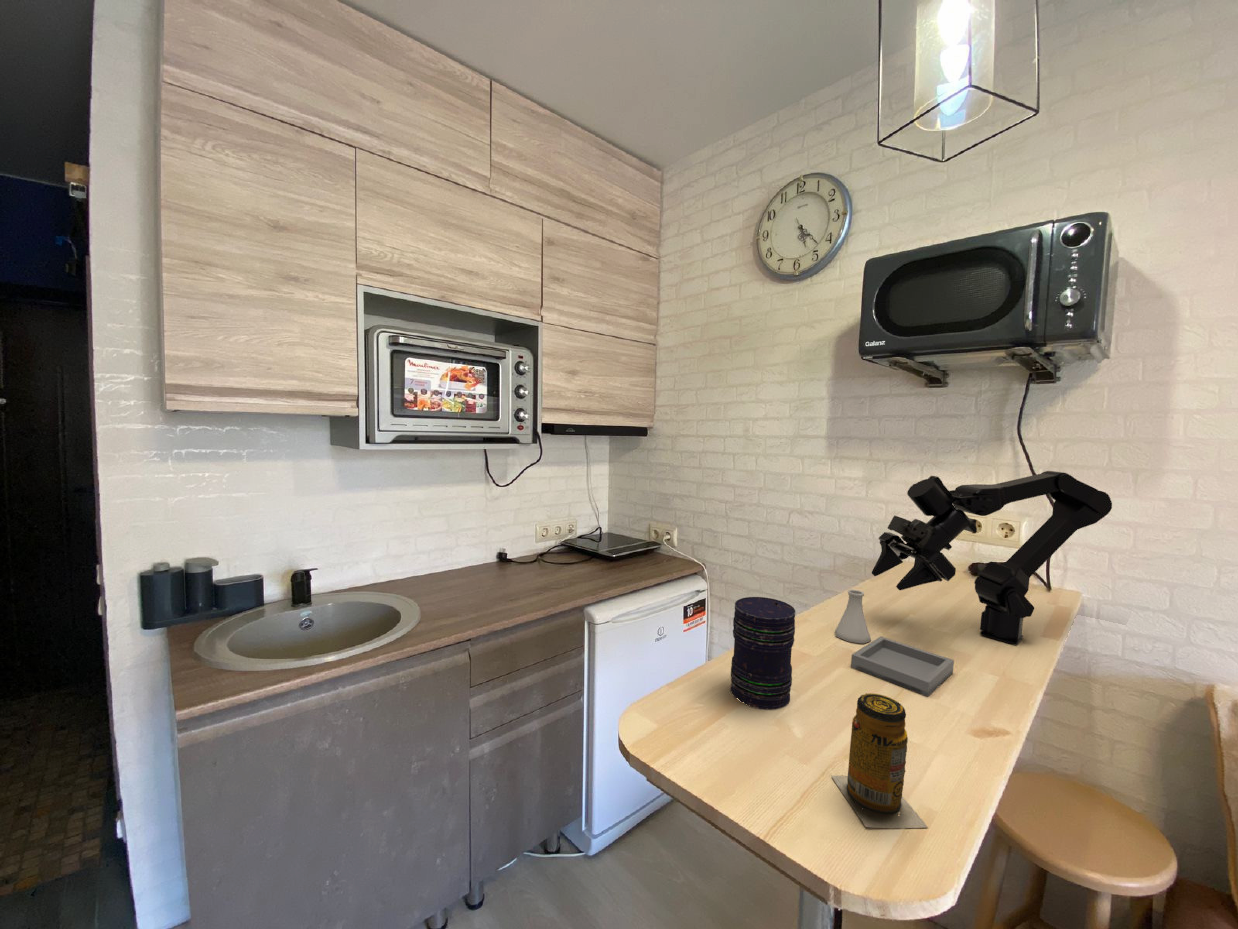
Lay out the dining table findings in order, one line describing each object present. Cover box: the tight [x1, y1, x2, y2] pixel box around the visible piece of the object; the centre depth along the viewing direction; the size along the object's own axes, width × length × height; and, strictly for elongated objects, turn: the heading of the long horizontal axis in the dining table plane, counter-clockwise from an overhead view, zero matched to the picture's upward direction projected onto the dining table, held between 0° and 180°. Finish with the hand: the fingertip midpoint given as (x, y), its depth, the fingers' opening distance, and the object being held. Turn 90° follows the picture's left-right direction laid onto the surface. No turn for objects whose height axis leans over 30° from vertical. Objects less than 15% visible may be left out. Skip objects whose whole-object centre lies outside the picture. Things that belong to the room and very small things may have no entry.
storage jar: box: [730, 596, 796, 711], centre depth 85 cm, size 10×10×15 cm
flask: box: [834, 588, 872, 645], centre depth 109 cm, size 7×7×10 cm
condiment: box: [831, 692, 928, 830], centre depth 62 cm, size 7×8×12 cm
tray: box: [850, 636, 955, 698], centre depth 95 cm, size 13×13×2 cm
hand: (884, 581), depth 109 cm, fingers open, 9 cm apart
